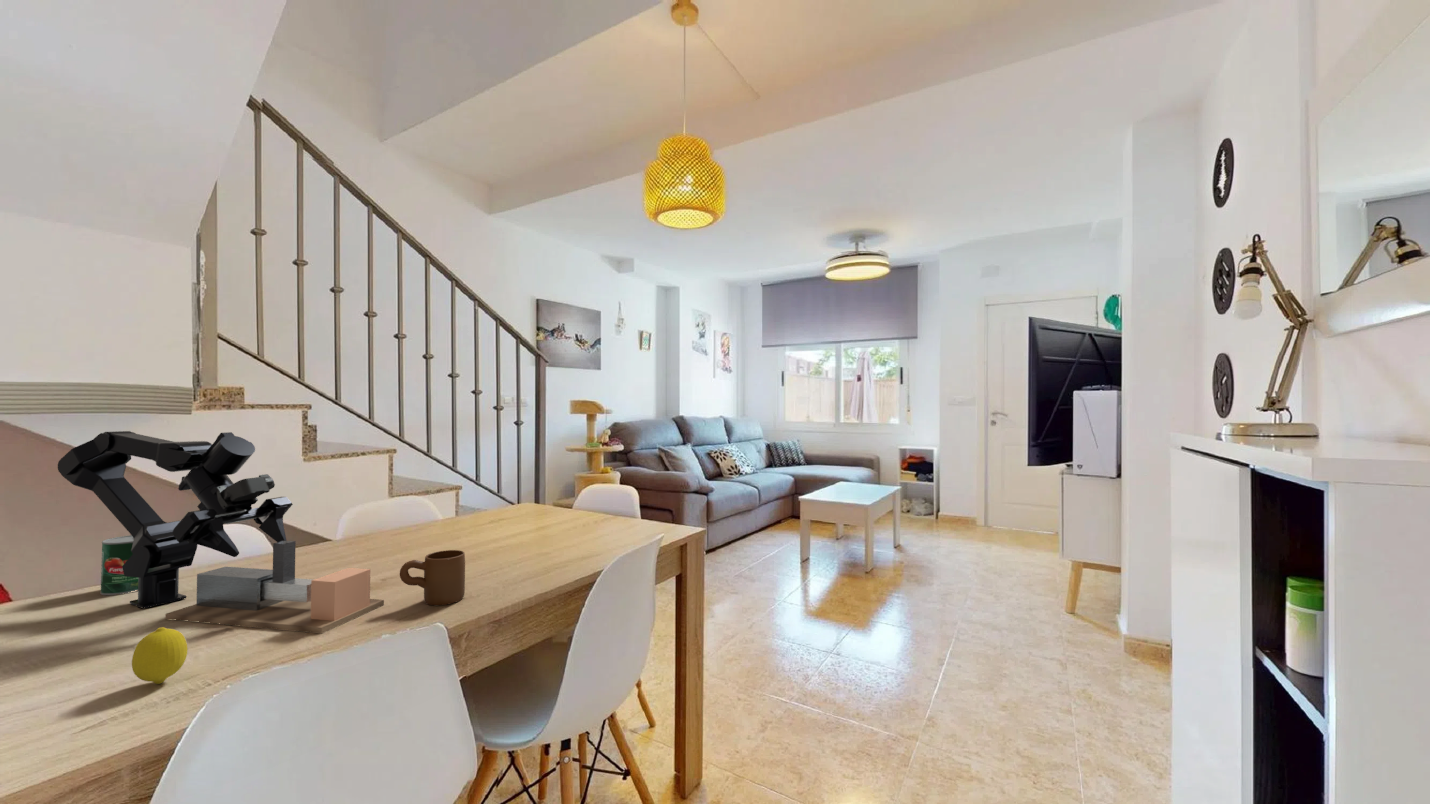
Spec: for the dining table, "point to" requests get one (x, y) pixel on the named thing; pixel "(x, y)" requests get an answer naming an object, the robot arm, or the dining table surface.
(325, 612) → the socket block
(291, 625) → the base board
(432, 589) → the mug
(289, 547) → the tube
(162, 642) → the lemon
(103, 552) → the canned tomato
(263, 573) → the sleeve
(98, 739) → the dining table surface
